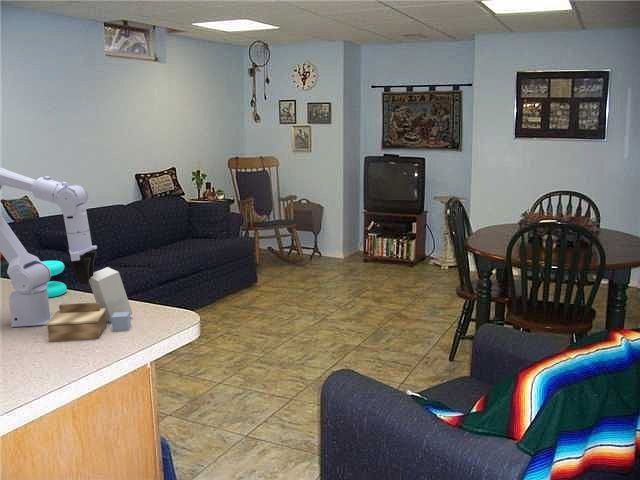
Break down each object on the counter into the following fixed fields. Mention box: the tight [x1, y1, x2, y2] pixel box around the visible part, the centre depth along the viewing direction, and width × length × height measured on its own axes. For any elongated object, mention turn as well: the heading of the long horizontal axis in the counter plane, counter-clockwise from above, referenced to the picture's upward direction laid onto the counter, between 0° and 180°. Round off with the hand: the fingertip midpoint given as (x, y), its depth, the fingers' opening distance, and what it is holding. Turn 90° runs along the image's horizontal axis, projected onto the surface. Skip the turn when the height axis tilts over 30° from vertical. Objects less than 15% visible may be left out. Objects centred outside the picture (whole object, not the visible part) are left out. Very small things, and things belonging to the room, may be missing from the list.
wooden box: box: [47, 312, 107, 342], centre depth 173 cm, size 12×10×4 cm
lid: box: [45, 302, 106, 326], centre depth 172 cm, size 12×10×2 cm
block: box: [111, 312, 132, 332], centre depth 176 cm, size 4×4×4 cm
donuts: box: [41, 260, 67, 299], centre depth 209 cm, size 10×10×10 cm
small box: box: [88, 266, 133, 324], centre depth 183 cm, size 8×6×13 cm
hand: (86, 281), depth 178 cm, fingers open, 4 cm apart
